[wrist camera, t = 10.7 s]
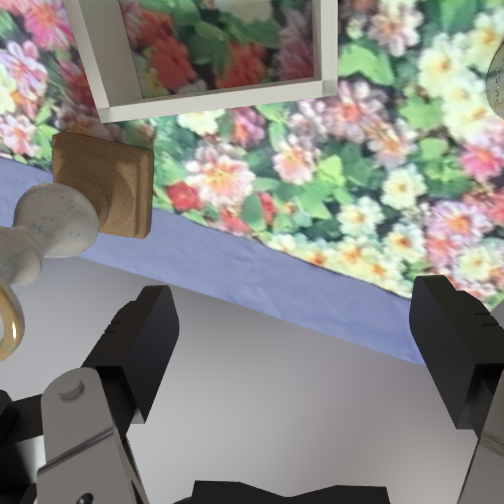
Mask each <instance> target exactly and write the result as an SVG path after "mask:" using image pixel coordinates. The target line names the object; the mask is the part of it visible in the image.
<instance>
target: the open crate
mask: <svg viewBox="0 0 504 504" xmlns="http://www.w3.org/2000/svg"><path fill="white" fill-rule="evenodd" d="M63 3H64V6H65V9H66V12H67V16H68V19H69V22H70V25H71V28H72V32H73V35H74V38H75V41H76V44H77V48H78V51H79V54H80V57H81V60H82V64H83V67H84V70H85V73H86V76H87V80H88V83H89V86H90V89H91V92H92V96H93V99H94V102H95V105H96V108H97V112H98V115H99V118H100V121H101V123H110V122H118V121H126V120H134V119H143V118H151V117H159V116H168V115H176V114H184V113H193V112H201V111H209V110H218V109H226V108H234V107H243V106H251V105H259V104H268V103H276V102H284V101H293V100H301V99H309V98H317V97H326V96H334V95H337V59H338V0H312V29H313V66H314V77H308V78H300V79H293V80H285V81H277V82H269V83H261V84H253V85H246V86H238V87H230V88H222V89H214V90H206V91H199V92H191V93H183V94H175V95H167V96H160V97H152V98H144V99H143V97H142V93H141V89H140V85H139V81H138V77H137V73H136V69H135V65H134V61H133V57H132V53H131V49H130V45H129V41H128V37H127V33H126V29H125V25H124V21H123V17H122V13H121V9H120V5H119V1H118V0H63Z"/></svg>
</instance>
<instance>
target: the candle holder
mask: <svg viewBox="0 0 504 504" xmlns="http://www.w3.org/2000/svg"><path fill="white" fill-rule="evenodd" d="M52 171H53V183H42V184H38V185H36V186H33V187H31V188H30V189H28V190H27V191H26V192H25V193H24V194H23V195H22V196H21V197H20V199H19V200H18V202H17V205H16V208H15V211H14V217H13V225H12V227H11V228H10V227H1V226H0V362H1V361H3V360H5V359H6V358H7V357H9V356H10V355H11V354H12V353H13V352H14V351H15V350H16V349H17V347H18V346H19V345H20V343H21V340H22V338H23V336H24V331H25V320H24V314H23V311H22V307H21V305H20V302H19V300H18V298H17V296H16V295H15V293H14V292H13V290H12V288H11V286H24V285H28V284H30V283H32V282H34V281H35V280H36V279H37V278H38V277H39V276H40V274H41V271H42V260H43V258H66V257H72V256H75V255H78V254H81V253H82V252H84V251H86V250H87V249H88V248H90V247H91V246H92V244H93V243H94V242H95V240H96V238H97V236H98V232H101V233H106V234H111V235H117V236H123V237H132V238H139V239H145V237H146V236H147V235H148V234H149V232H150V228H151V216H152V196H153V176H154V154H153V152H152V151H150V150H147V149H144V148H140V147H136V146H131V145H126V144H122V143H117V142H112V141H108V140H103V139H98V138H94V137H89V136H84V135H80V134H74V133H68V132H61V133H58V134H55V135H52Z"/></svg>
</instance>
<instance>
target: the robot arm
mask: <svg viewBox="0 0 504 504" xmlns="http://www.w3.org/2000/svg"><path fill="white" fill-rule="evenodd" d="M486 93H487V99H488V102H489V104H490V107H491V108H492V109H493V111H494V112H495V113H496V114H497V115H498V116H500V117H501V118H502V119H504V44H503V45H502V47H501V48H500V50H499V51H498V53H497V54H496V56H495V58H494V60H493V62H492V64H491V66H490V69H489V73H488V76H487V83H486ZM409 325H410V330H411V333H412V336H413V338H414V340H415V342H416V344H417V346H418V348H419V351H420V353H421V355H422V357H423V359H424V361H425V363H426V366H427V368H428V370H429V372H430V374H431V376H432V378H433V380H434V382H435V385H436V387H437V389H438V391H439V393H440V395H441V397H442V400H443V402H444V404H445V406H446V408H447V410H448V412H449V415H450V417H451V419H452V421H453V423H454V425H455V427H456V429H473V430H474V432H475V433H476V435H477V437H478V441H477V444H476V447H475V450H474V453H473V456H472V459H471V462H470V465H469V468H468V471H467V474H466V477H465V480H464V483H463V486H462V489H461V492H460V495H459V498H458V501H457V504H504V329H503V328H502V327H501V326H499V323H498V322H497V321H496V320H495V318H494V317H493V316H491V315H490V312H489V311H488V310H487V309H486V307H485V306H484V305H483V304H482V302H481V301H480V300H478V299H477V298H475V297H473V296H472V295H470V294H469V293H467V292H466V291H464V290H462V291H456V289H455V288H454V287H453V285H452V284H451V283H450V281H449V280H448V279H447V277H446V276H444V275H428V276H417V277H416V278H415V281H414V286H413V293H412V299H411V306H410V313H409ZM178 336H179V319H178V315H177V312H176V308H175V304H174V300H173V297H172V293H171V289H170V288H169V286H168V285H155V286H145V287H144V288H143V290H142V291H141V293H140V294H139V296H138V297H137V299H136V301H130V302H129V303H127V304H126V305H125V306H124V307H123V308H121V309H120V310H119V311H118V312H117V314H116V315H115V316H114V318H113V319H112V321H111V324H109V325H108V327H107V329H106V330H105V333H104V334H103V335H102V336H101V337H100V339H99V340H98V342H97V344H96V345H95V346H94V348H93V349H92V351H91V352H90V354H89V355H88V357H87V358H86V360H85V361H84V363H83V365H82V366H81V367H80V368H77V369H73V370H70V371H68V372H66V373H64V374H62V375H61V376H59V377H58V378H56V379H55V380H54V381H53V382H52V383H50V384H49V386H48V387H47V388H46V389H45V391H44V393H43V394H39V395H36V396H32V397H28V398H24V399H21V400H17V401H12V399H11V398H10V396H9V395H8V394H7V392H5V391H3V390H0V504H33V503H34V501H35V499H36V497H37V504H150V503H149V501H148V498H147V495H146V493H145V490H144V486H143V484H142V480H141V477H140V474H139V471H138V468H137V465H136V462H135V459H134V456H133V453H132V450H131V447H130V444H129V441H128V438H127V436H126V433H127V431H128V428H129V426H130V424H145V422H146V420H147V417H148V415H149V412H150V409H151V407H152V404H153V402H154V399H155V397H156V394H157V391H158V389H159V386H160V384H161V381H162V378H163V375H164V373H165V370H166V368H167V365H168V363H169V360H170V357H171V355H172V352H173V350H174V347H175V344H176V342H177V339H178ZM173 504H390V501H389V498H388V493H387V489H386V487H375V486H344V485H335V486H332V487H328V488H324V489H320V490H316V491H312V492H309V493H305V494H301V495H297V496H294V497H283V496H280V495H277V494H274V493H271V492H268V491H265V490H262V489H259V488H256V487H253V486H250V485H247V484H244V483H241V482H226V481H195V483H194V487H193V492H192V496H191V497H188V498H185V499H183V500H180V501H177V502H175V503H173Z"/></svg>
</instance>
